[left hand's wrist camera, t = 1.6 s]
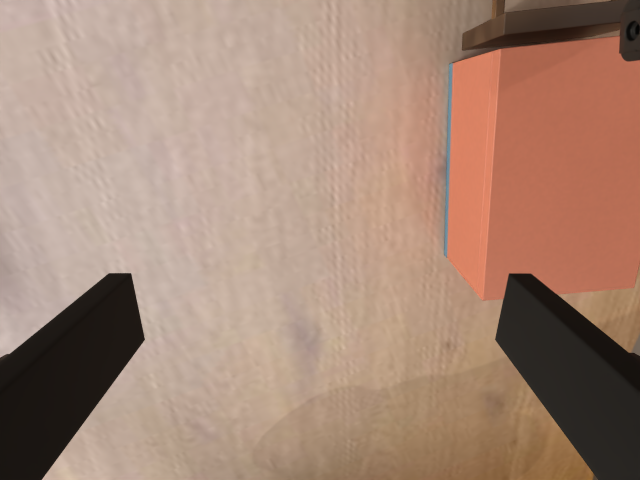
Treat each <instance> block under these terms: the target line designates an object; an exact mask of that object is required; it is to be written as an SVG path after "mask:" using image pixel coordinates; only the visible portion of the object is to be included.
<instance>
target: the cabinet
mask: <svg viewBox="0 0 640 480" xmlns="http://www.w3.org/2000/svg"><path fill="white" fill-rule="evenodd" d="M619 44H620V36H613V37H604V38H595V39H585V40H576V41H567V42H557V43H548V44H539V45H529V46H520V47H511V48H501V49H498V50H495V51H491V52H488V53H485V54H481V55H478V56H475V57H471V58H468V59H465V60H461V61H458V62H455V63H451V64H449V99H448V137H447V175H446V213H445V251H444V255H445V256H446V257H447V258H448V259H449V261H450V262H451V263H452V264H453V265H454V267H455V268H456V269H457V270H458V271H459V273H460V274H461V275H462V276H463V277H464V279H465V280H466V281H467V282H468V283H469V285H470V286H471V287H472V288H473V290H474V291H475V292H476V293H477V294H478V295H479V297H480V298H481V299H482V300H483V301H484V300H495V299H504V295H505V290H506V285H507V280H508V275H509V273H531V274H532V275H534V276H535V277H536V278H537V279H539V280H540V281H541V282H542V283H543V284H545V285H546V286H547V287H548V288H550V289H551V290H552V291H553V292H554V293H556V294H566V293H578V292H590V291H602V290H614V289H625V288H634V286H635V281H636V277H637V273H638V269H639V264H640V60H638V61H630V62H628V61H625V60H624V59H623V58H622V56H621V54H619Z"/></svg>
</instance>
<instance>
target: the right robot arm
mask: <svg viewBox="0 0 640 480" xmlns="http://www.w3.org/2000/svg"><path fill="white" fill-rule="evenodd" d="M619 54H621V56H622V58H623V59H624V60H625V61H628V62H630V61H638V60H640V0H629V1H628V2H627V4H626V5H625V7H624V9H623V13H621V21H620V44H619Z"/></svg>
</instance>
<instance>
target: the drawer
mask: <svg viewBox="0 0 640 480" xmlns="http://www.w3.org/2000/svg"><path fill="white" fill-rule="evenodd" d="M628 1H629V0H611V1H606V2H597V3H588V4H579V5H570V6H561V7H552V8H543V9H534V10H525V11H516V12H507V13H504V5H505V0H493V5H492V20H490V21H487V22H485V23H483V24H481V25H479V26H477V27H475V28H473V29H471V30H469V31H467V32H465V33H463V37H462V50H472V49H481V48H491V47H500V46H509V45H519V44H528V43H537V42H546V41H556V40H565V39H574V38H584V37H592V36H596V35H600V34H604V33H608V32H612V31H617V30H620V21H621V13H623V9H624V7H625V5H626V4H627V2H628Z"/></svg>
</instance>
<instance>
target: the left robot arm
mask: <svg viewBox="0 0 640 480" xmlns="http://www.w3.org/2000/svg"><path fill="white" fill-rule="evenodd" d="M144 340H145V338H144V333H143V328H142V324H141V319H140V314H139V309H138V304H137V299H136V295H135V290H134V285H133V280H132V275H131V273H109V274H108V275H106V276H105V277H104V278H103V279H101V280H100V281H99V282H98V283H97V284H95V285H94V286H93V287H92V288H90V289H89V290H88V291H87V292H86V293H84V294H83V295H82V296H81V297H79V298H78V299H77V300H76V301H74V302H73V303H72V304H71V305H70V306H68V307H67V308H66V309H65V310H63V311H62V312H61V313H60V314H58V315H57V316H56V317H55V318H54V319H52V320H51V321H50V322H49V323H47V324H46V325H45V326H44V327H42V328H41V329H40V330H39V331H38V332H36V333H35V334H34V335H33V336H31V337H30V338H29V339H28V340H26V341H25V342H24V343H23V344H22V345H20V346H19V347H18V348H17V349H15V350H14V351H13V352H12V353H10V354H6V355H4V356H2V357H1V358H0V480H42V479H43V477H44V476H45V475H46V473H47V472H48V470H49V469H50V468H51V466H52V465H53V464H54V462H55V461H56V460H57V458H58V457H59V456H60V454H61V453H62V451H63V450H64V449H65V447H66V446H67V445H68V443H69V442H70V441H71V439H72V438H73V437H74V435H75V434H76V432H77V431H78V430H79V428H80V427H81V426H82V424H83V423H84V422H85V420H86V419H87V417H88V416H89V415H90V413H91V412H92V411H93V409H94V408H95V407H96V405H97V404H98V403H99V401H100V400H101V398H102V397H103V396H104V394H105V393H106V392H107V390H108V389H109V388H110V386H111V385H112V384H113V382H114V381H115V379H116V378H117V377H118V375H119V374H120V373H121V371H122V370H123V369H124V367H125V366H126V365H127V363H128V362H129V360H130V359H131V358H132V356H133V355H134V354H135V352H136V351H137V350H138V348H139V347H140V346H141V344H142V343H143V341H144ZM495 340H496V341H497V343H498V344H499V346H500V347H501V348H502V350H503V351H504V352H505V354H506V355H507V356H508V358H509V359H510V360H511V362H512V363H513V365H514V366H515V367H516V369H517V370H518V371H519V373H520V374H521V375H522V377H523V378H524V379H525V381H526V382H527V384H528V385H529V386H530V388H531V389H532V390H533V392H534V393H535V394H536V396H537V397H538V398H539V400H540V401H541V403H542V404H543V405H544V407H545V408H546V409H547V411H548V412H549V413H550V415H551V416H552V417H553V419H554V420H555V422H556V423H557V424H558V426H559V427H560V428H561V430H562V431H563V432H564V434H565V435H566V437H567V438H568V439H569V441H570V442H571V443H572V445H573V446H574V447H575V449H576V450H577V451H578V453H579V454H580V456H581V457H582V458H583V460H584V461H585V462H586V464H587V465H588V466H589V468H590V469H591V470H592V472H593V473H594V475H595V476H596V477H597V479H598V480H640V356H639V355H637V354H635V353H628V352H627V351H626V350H625V349H623V348H622V347H621V346H620V345H618V344H617V343H616V342H615V341H614V340H612V339H611V338H610V337H609V336H607V335H606V334H605V333H604V332H602V331H601V330H600V329H599V328H598V327H596V326H595V325H594V324H593V323H591V322H590V321H589V320H588V319H586V318H585V317H584V316H583V315H582V314H580V313H579V312H578V311H577V310H575V309H574V308H573V307H572V306H570V305H569V304H568V303H567V302H566V301H564V300H563V299H562V298H561V297H559V296H558V295H557V294H556V293H554V292H553V291H552V290H551V289H550V288H548V287H547V286H546V285H545V284H543V283H542V282H541V281H540V280H539V279H537V278H536V277H535V276H534V275H532V274H531V273H509V275H508V280H507V285H506V290H505V295H504V299H503V304H502V309H501V314H500V319H499V324H498V328H497V333H496V338H495Z"/></svg>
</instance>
